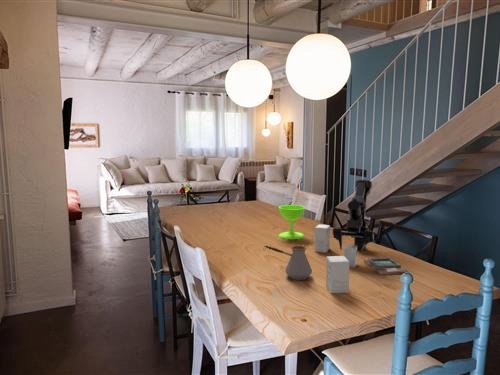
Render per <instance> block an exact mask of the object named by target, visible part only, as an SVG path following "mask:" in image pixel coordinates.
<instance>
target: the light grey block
mask: <svg viewBox="0 0 500 375" xmlns="http://www.w3.org/2000/svg"><path fill="white" fill-rule="evenodd" d="M343 250H344V254H343V256H344V257H345V258H346V259H347V260H348V261H349V268H354V269H355V268H356V266H357V264H358V250H357V246H354V244H353V245H352V244H346V245H345V246H344V249H343Z"/></svg>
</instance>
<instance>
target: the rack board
mask: <svg viewBox="0 0 500 375" xmlns="http://www.w3.org/2000/svg"><path fill="white" fill-rule="evenodd" d="M363 263H365V264H366V265H367V266H368V267H369V268H371V269H372V270H373V271H374V272H376V273H377V274H378V275H379V276H382V275H383V276H384V275H385V276H387V275H389V276H390V275H404V274H403V273H405V272H408V274H409V271H408V269H406V268H404V267H402V265H401V264H400V263H398V262H397V261H395V260H394V259H392V258H391V257H382V258H381V257H379V258H376V257H375V258H374V257H373V258H367V259H364V260H363Z"/></svg>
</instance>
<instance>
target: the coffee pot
mask: <svg viewBox="0 0 500 375" xmlns="http://www.w3.org/2000/svg"><path fill="white" fill-rule="evenodd" d="M266 249H269V250H271V251H274V252H277V253H281V254H284V255H286V256H287V255H288V256H290V257H289V260H288V262H287V264H286V267H285V269H284V271H285V273H286V275H287V276H288V277H289V278H290V279H292V280H297V281H304V280H306V279H308V278H309V277H310V276H311V275H312V272H313V270H312V267H311V264H310V263H309V259H308V257H307V255H306V253H305V252H306V250H307V247H306V246H303V245H293V246H291V248H290V249H291V251H292V252H291V253H290V252H288V251H284V250H281V249H279V248H276V247H272V246H268V245H264V246H263V251H265V250H266Z"/></svg>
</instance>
